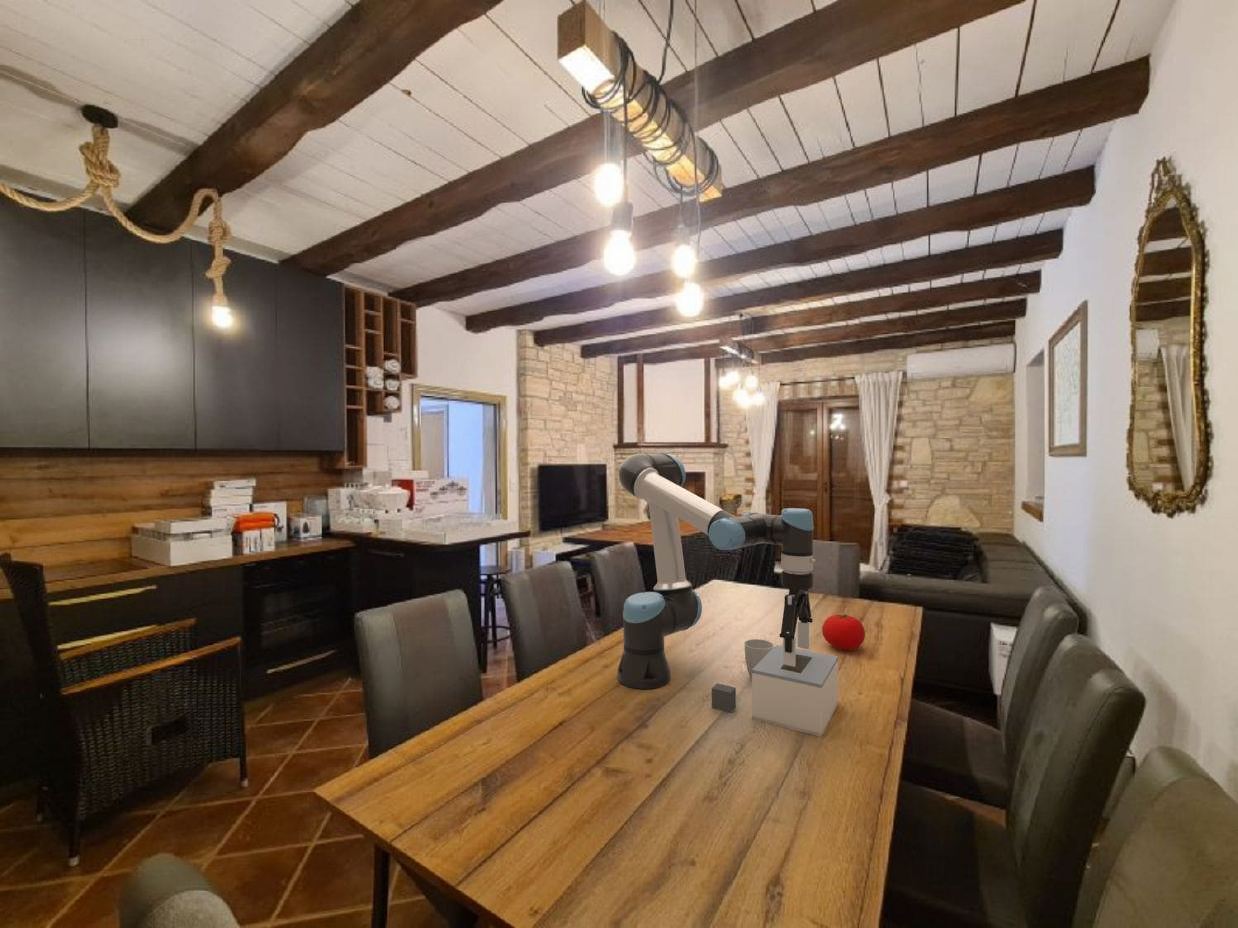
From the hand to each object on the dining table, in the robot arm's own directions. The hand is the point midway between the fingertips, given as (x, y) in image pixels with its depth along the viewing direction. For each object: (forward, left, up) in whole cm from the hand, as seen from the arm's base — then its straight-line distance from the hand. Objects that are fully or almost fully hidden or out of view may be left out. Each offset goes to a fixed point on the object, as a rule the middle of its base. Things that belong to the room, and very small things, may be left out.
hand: (796, 656), depth 135 cm
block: (-16, -8, -14) cm, 23 cm away
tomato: (+2, +53, -14) cm, 55 cm away
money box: (0, 0, -14) cm, 14 cm away
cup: (-14, +14, -14) cm, 24 cm away
